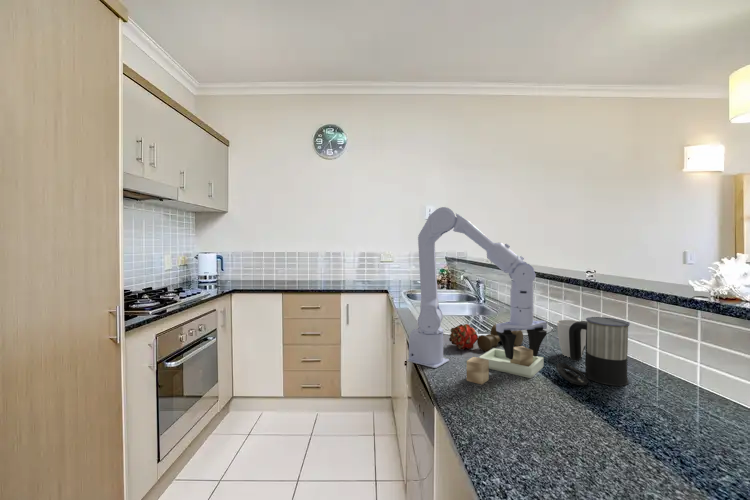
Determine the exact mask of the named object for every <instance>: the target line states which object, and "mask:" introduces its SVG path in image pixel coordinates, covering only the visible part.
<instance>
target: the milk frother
mask: <svg viewBox="0 0 750 500" xmlns="http://www.w3.org/2000/svg"><path fill="white" fill-rule="evenodd" d="M577 321H578V322H575V323H573V324H572V325H571V326H570V328H569V344H570V360H572V361H575V362H576V361H580V360H581V359H582V358H581V330H582V329H584V330H586V346H585V356H584V357H585V359H584V363H585V364H584V367H585V369H584V370H585V372H583V371H581V370H580V369H578V368H576V367H574V366H572V365H569V364H567V363H565V362H564V363H561V362H559V363H557V364H556V367H555V368H556V372H557V373H558V374H559V375H560V376H561V378H563V379H565V380H566V381H568V382H570V384H571V385H574V384H575V385H577V386H586V385H588V383H589V380H590V381H593V382H595V383H598V384H600V385H601V384H602V385H608V386H616V387H618V386H619V387H620V386H621V387H622V386H627V385H628V384H629V380H628V379H629V378H628V350H629V349H628V348H629V343H628V342H629V326H630V324H631V322H628V321H627V320H624V319H623V320H622V319H619V318H614V317H613V318H612V317H605V316H604V317H603V316H589V317H586V318H585V320H577ZM579 377H580V378H579Z"/></svg>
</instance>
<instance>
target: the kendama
mask: <svg viewBox="0 0 750 500" xmlns="http://www.w3.org/2000/svg"><path fill="white" fill-rule="evenodd" d="M496 324H497V323H495V324H494V325H493V326H491V328H490V333H488V334H486V335H479V336H478V339H477V341H476V343H477V346H478V348H479V349H480V350H481V351H484V352H488V351H490V350H491V349H493V348H496V347H497V346H498V343H499V342H501V339H500V338H499V336H498V334H497V331H496ZM511 332H512V334H514V335H516V339H515V342H514V347H519V346H522V345H523V341H524V333H523V330H518V331H511Z"/></svg>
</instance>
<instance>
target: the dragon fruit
mask: <svg viewBox="0 0 750 500" xmlns="http://www.w3.org/2000/svg"><path fill="white" fill-rule="evenodd" d="M478 337H479V336H478V334H477V332H476V329H474V327H473V326H471V325H470V324H468V323H465V324H459V325H456V326H455V327H451V329H450V334H449V338H448V339H449V342H450V343H451V344H452V345H454V346H456V347H457V349H459V350H461V351H464V350H465V349H468V350H469V349H471V350H473V349H474V346H475V343H477V339H478Z"/></svg>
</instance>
